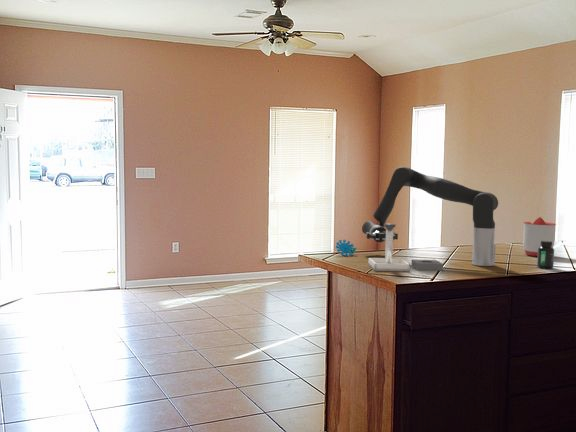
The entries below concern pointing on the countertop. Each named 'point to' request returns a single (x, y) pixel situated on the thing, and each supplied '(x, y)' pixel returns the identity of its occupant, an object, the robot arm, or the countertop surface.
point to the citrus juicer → (537, 235)
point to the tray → (380, 265)
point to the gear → (345, 248)
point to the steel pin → (389, 243)
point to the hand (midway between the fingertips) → (384, 237)
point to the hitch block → (427, 265)
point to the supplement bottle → (545, 255)
